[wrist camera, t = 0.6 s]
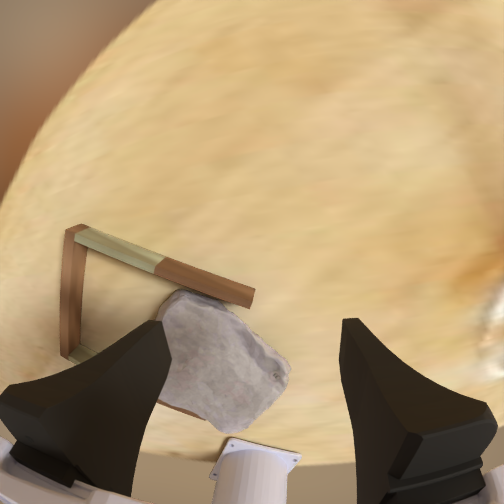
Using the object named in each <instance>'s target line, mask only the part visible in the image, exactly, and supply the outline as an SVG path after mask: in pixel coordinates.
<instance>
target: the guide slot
mask: <svg viewBox="0 0 504 504" xmlns="http://www.w3.org/2000/svg"><path fill="white" fill-rule="evenodd" d="M87 247H89V248H92V249H94V250H96V251H99V252H101V253H103V254H106V255H108V256H111V257H113V258H115V259H118V260H120V261H123V262H125V263H128V264H130V265H133V266H135V267H138V268H140V269H143V270H145V271H148V272H150V273H153V274H155V275H158V276H160V277H163V278H165V279H168V280H171V281H173V282H176V283H179V284H181V285H184V286H186V287H189V288H192V289H194V290H197V291H200V292H203V293H205V294H208V295H211V296H214V297H216V298H219V299H222V300H225V301H228V302H230V303H233V304H236V305H239V306H242V307H245V308H248V309H250V307H251V304H252V301H253V297H254V292H255V289H254V288H251V287H248V286H246V285H243V284H240V283H237V282H234V281H231V280H229V279H226V278H223V277H220V276H217V275H215V274H212V273H209V272H206V271H204V270H201V269H198V268H195V267H193V266H190V265H187V264H184V263H182V262H179V261H176V260H174V259H171V258H168V257H166V256H163V255H160V254H158V253H155V252H152V251H150V250H147V249H145V248H142V247H139V246H137V245H134V244H132V243H129V242H126V241H124V240H121V239H119V238H116V237H114V236H111V235H109V234H106V233H103V232H101V231H98V230H96V229H93V228H91V227H88V226H86V225H84V224H79V225H76V226H73V227H71V228H68V229H66V231H65V239H64V248H63V259H62V272H61V290H60V355H61V356H62V357H64V358H66V359H68V360H69V361H71V362H73V363H75V364H77V365H78V364H80V363H82V362H84V361H86V360H88V359H90V358H92V357H93V356H95V355H97V354H98V353H96V352H94V351H92V350H90V349H88V348H86V347H85V346H83V345H81V344H80V324H81V306H82V293H83V282H84V272H85V263H86V255H87ZM157 403H159V404H161V405H164V406H167V407H169V408H172V409H174V410H177V411H180V412H182V413H185V414H188V415H191V416H193V417H196V418H199V419H202V420H205V419H203V418H201V417H200V416H198V415H197V414H196V413H194V412H191V411H189V410H186V409H183V408H179V407H175V406H172V405H169V404H168V403H166V402H163V401H162V400H160V399H158V400H157ZM205 421H206V420H205Z"/></svg>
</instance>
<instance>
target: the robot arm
mask: <svg viewBox="0 0 504 504" xmlns="http://www.w3.org/2000/svg"><path fill="white" fill-rule="evenodd" d="M171 362H172V357H171V353H170V350H169V346H168V342H167V339H166V335H165V331H164V327H163V323H162V321H153V320H148V321H147V322H145V323H143V324H142V325H140V326H139V327H137V328H136V329H134V330H133V331H131V332H130V333H129V334H127V335H126V336H124V337H123V338H121V339H120V340H118V341H117V342H116V343H114V344H113V345H111V346H109V347H108V348H106V349H105V350H103V351H102V352H100V353H98V354H97V355H95V356H93V357H92V358H90V359H88V360H86V361H84V362H82V363H80V364H78V365H76V366H74V367H72V368H69V369H67V370H64V371H62V372H59V373H57V374H54V375H51V376H48V377H45V378H41V379H38V380H34V381H29V382H24V383H19V384H13V385H9V386H8V387H7V388H6V389H5V390H4V392H3V393H2V394H1V395H0V419H1V421H2V422H3V423H4V425H5V426H6V427H7V428H8V430H9V431H10V432H11V434H12V435H13V436H14V437H15V439H16V440H17V441H16V443H15V445H13V444H12V443H11V442H10V441H8V440H7V439H5V438H3V437H1V436H0V500H1V501H2V502H3V503H4V504H154V503H150V502H146V501H142V500H138V499H135V498H131V492H132V484H133V477H134V473H135V467H136V462H137V458H138V454H139V450H140V446H141V442H142V438H143V435H144V432H145V428H146V425H147V423H148V420H149V418H150V415H151V413H152V411H153V409H154V406H155V404H156V402H157V400H158V398H159V395H160V393H161V391H162V389H163V386H164V384H165V382H166V379H167V376H168V373H169V369H170V365H171ZM339 365H340V374H341V382H342V386H343V390H344V394H345V398H346V403H347V407H348V411H349V415H350V419H351V424H352V429H353V436H354V446H355V459H356V475H357V504H504V464H502V465H500V466H498V467H495V468H493V469H491V470H489V471H488V472H486V473H485V474H483V475H482V474H481V471H480V468H481V467H482V466H483V462H482V459H481V457H480V456H481V454H482V453H483V452H484V450H485V449H486V448H487V446H488V445H489V444H490V442H491V441H492V439H493V437H494V436H495V434H496V432H497V428H498V425H497V422H496V420H495V418H494V416H493V414H492V412H491V410H490V408H489V407H488V405H487V403H486V402H483V401H480V400H476V399H473V398H470V397H467V396H464V395H461V394H459V393H456V392H454V391H452V390H449V389H447V388H445V387H443V386H441V385H439V384H437V383H435V382H433V381H432V380H430V379H428V378H426V377H425V376H423V375H421V374H420V373H418V372H417V371H415V370H414V369H413V368H411V367H410V366H408V365H407V364H406V363H404V362H403V361H402V360H400V359H399V358H398V357H397V356H396V355H395V354H393V353H392V352H391V351H390V350H389V349H388V348H387V347H386V346H385V345H384V344H383V343H382V342H381V341H380V340H379V339H378V338H377V337H376V336H375V335H374V334H373V333H372V332H371V331H370V330H369V329H368V328H367V327H366V326H365V325H364V324H363V323H362V321H361V320H360V319H359V318H348V319H343V321H342V332H341V343H340V353H339ZM301 458H302V456H301V454H299V453H295V452H290V451H285V450H280V449H276V448H271V447H267V446H263V445H259V444H255V443H251V442H247V441H244V440H240V439H236V438H230V439H229V440H228V442H227V444H226V446H225V447H224V449H223V451H222V453H221V455H220V457H219V459H218V460H217V462H216V464H215V466H214V468H213V470H212V471H211V473H210V476H209V478H210V479H212V480H216V481H217V482H216V486H215V491H214V495H213V499H212V504H286V495H287V474H288V473H289V472H290V471H291V470H292V469H293V468H294V466H295V465H296V464H297V463H298V462H299V461H300V459H301Z"/></svg>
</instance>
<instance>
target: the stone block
mask: <svg viewBox="0 0 504 504" xmlns="http://www.w3.org/2000/svg"><path fill="white" fill-rule="evenodd" d="M154 321H162V323H163V327H164V331H165V335H166V339H167V342H168V346H169V350H170V353H171V357H172V362H171V365H170V369H169V373H168V376H167V379H166V382H165V384H164V386H163V389H162V391H161V393H160V395H159V398H158V399H160V400H162V401H163V402H166V403H168V404H169V405H172V406H175V407H179V408H183V409H186V410H189V411H191V412H194V413H196V414H197V415H198V416H200V417H201V418H203V419H205V420H208V421H209V422H210V423H211V424H212V425H213V426H214V427H215V428H216V429H218V430H219V431H221V432H223V433H236V432H239V431H242V430H244V429H246V428H248V427H249V425H251V424H252V423H253V421H254V420H255V419H256V418H257V417H259V416H260V415H261V414H262V413H263V412H264V411H265V410H267V409H268V408H269V407H270V406H271V405H272V404H273V403H274V402H275V401H276V400H277V399H278V397H279V396H280V395H281V394H282V393H283V392H284V390H285V389H286V387H287V384H288V379H289V377H288V374H289V372H290V371H291V366H290V365H289V363H288V361H287V360H286V359H285V358H284V357H282V356H281V355H280V354H279V353H278V352H277V351H276V350H274V349H273V348H271V347H270V346H269V345H268V344H266V343H265V342H264V341H263V339H262V338H260V337H259V336H258V335H257V334H255V333H254V332H253V331H252V330H251V329H250V328H249V327H248V325H247V324H245V323H244V322H243V321H241V320H240V319H239V318H238V316H236V315H235V314H234V313H233V312H230V311H228V310H227V309H226V308H225V307H224V305H223V304H222V303H221V302H219V301H218V300H217V299H212V298H208V297H205V296H203V295H200V294H196V293H192V292H190V291H187V290H182V289H181V290H176V291H175V292H174V293H173V294H172V295H171V296H170V297H169V298H168V299H167V300H166V301H165V302H164V303H163V304H162V305H161V306H160V307H159V311H158V314H157V317H156V319H155V320H154Z"/></svg>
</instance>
